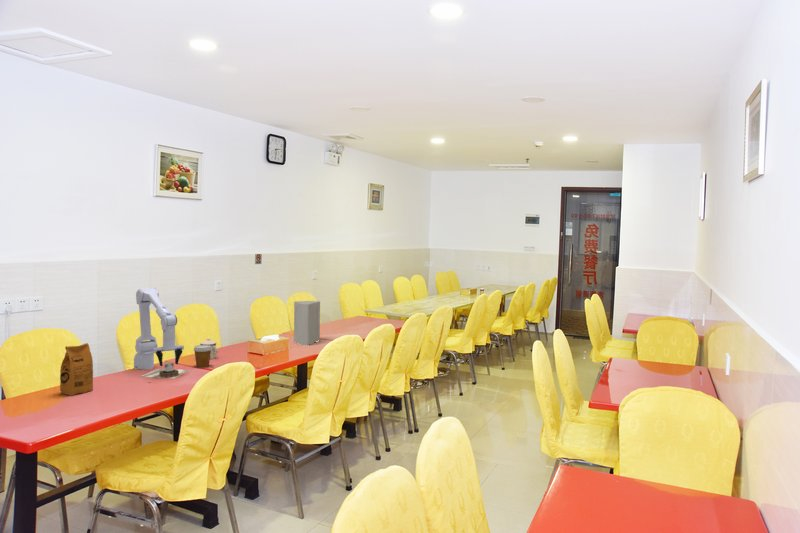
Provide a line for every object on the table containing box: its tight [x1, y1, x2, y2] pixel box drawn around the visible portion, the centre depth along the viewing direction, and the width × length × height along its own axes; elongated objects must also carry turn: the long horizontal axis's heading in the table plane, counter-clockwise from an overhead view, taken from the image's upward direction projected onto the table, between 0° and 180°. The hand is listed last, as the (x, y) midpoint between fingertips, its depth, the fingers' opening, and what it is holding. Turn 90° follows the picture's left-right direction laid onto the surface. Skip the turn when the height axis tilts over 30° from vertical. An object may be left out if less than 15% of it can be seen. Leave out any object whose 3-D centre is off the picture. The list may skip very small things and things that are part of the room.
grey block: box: [293, 300, 321, 346], centre depth 395 cm, size 19×15×28 cm
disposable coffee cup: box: [193, 344, 212, 368], centre depth 318 cm, size 10×10×12 cm
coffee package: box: [59, 342, 94, 396], centre depth 266 cm, size 10×12×22 cm
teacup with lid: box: [199, 337, 219, 360], centre depth 342 cm, size 12×9×12 cm
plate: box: [139, 368, 191, 379], centre depth 300 cm, size 18×18×1 cm
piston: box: [163, 362, 175, 373], centre depth 296 cm, size 4×4×6 cm
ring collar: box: [159, 369, 179, 379], centre depth 296 cm, size 9×9×2 cm
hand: (168, 364), depth 296 cm, fingers open, 7 cm apart
